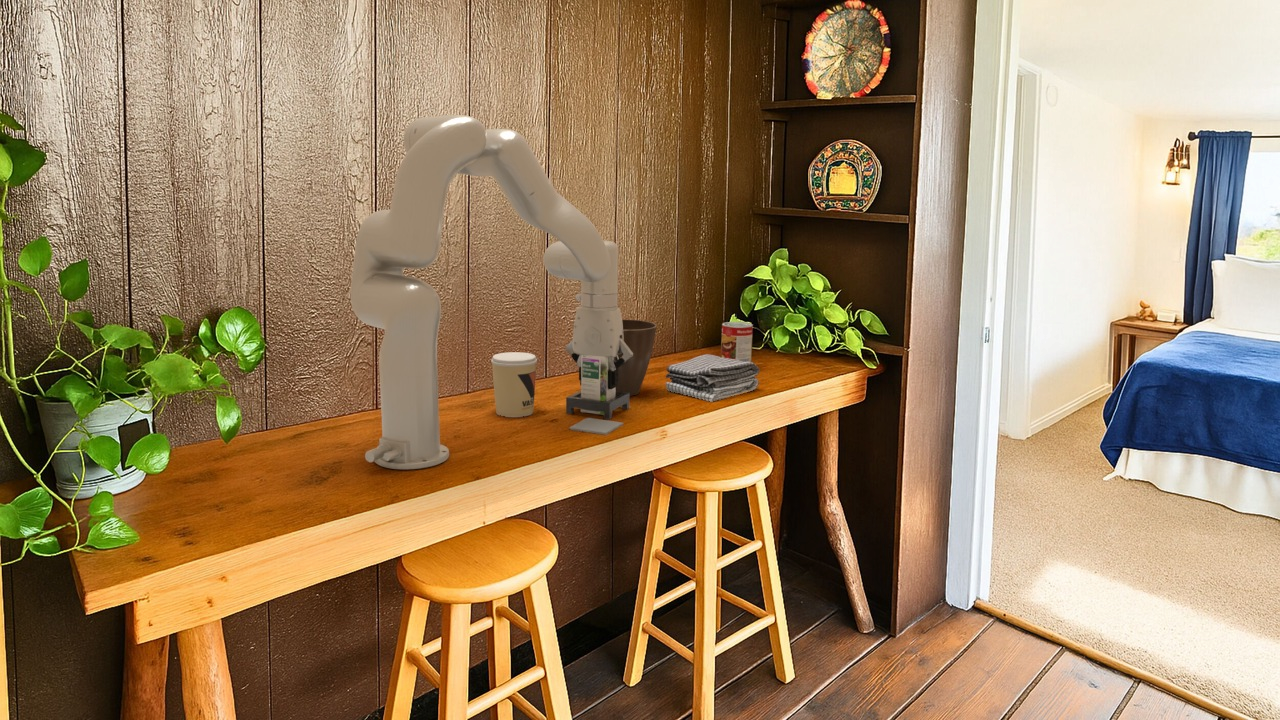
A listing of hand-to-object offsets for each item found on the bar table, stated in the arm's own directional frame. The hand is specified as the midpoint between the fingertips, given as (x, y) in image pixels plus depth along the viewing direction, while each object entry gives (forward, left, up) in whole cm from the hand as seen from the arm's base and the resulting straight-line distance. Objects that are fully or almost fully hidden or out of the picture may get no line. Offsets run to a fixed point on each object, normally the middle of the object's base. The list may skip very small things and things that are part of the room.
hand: (598, 385), depth 182 cm
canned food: (+53, -14, -6) cm, 55 cm away
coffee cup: (-9, +15, -6) cm, 18 cm away
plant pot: (+17, +2, -6) cm, 18 cm away
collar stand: (0, 0, -6) cm, 6 cm away
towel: (+29, -15, -6) cm, 33 cm away
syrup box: (0, 0, -6) cm, 6 cm away
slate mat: (-11, -5, -6) cm, 13 cm away
